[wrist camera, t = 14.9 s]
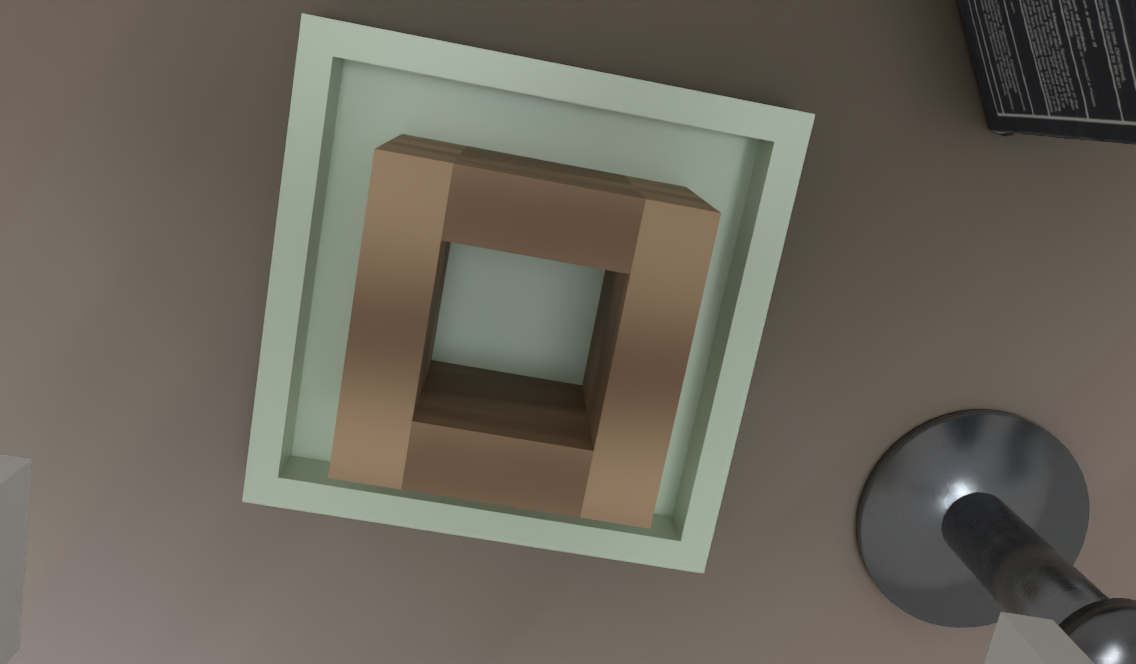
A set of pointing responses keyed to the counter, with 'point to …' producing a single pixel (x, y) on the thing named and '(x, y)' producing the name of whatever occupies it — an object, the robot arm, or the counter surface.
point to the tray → (511, 268)
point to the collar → (504, 400)
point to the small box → (1055, 66)
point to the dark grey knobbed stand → (988, 531)
